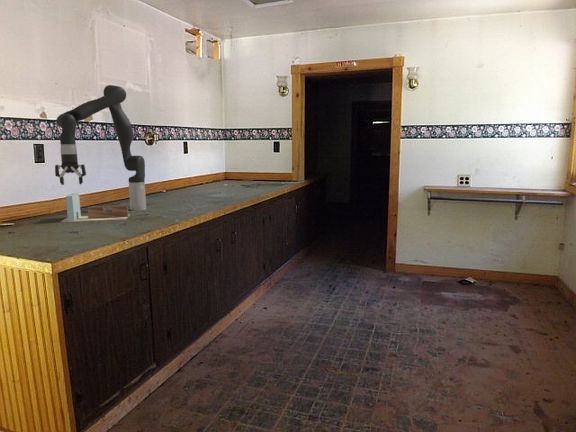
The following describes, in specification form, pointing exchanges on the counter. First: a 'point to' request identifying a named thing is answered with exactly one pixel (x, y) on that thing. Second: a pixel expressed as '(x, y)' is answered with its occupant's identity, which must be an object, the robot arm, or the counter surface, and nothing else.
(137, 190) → the robot arm
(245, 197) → the counter surface
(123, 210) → the walnut slotted plate
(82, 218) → the birch board
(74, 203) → the slotted cross plate
